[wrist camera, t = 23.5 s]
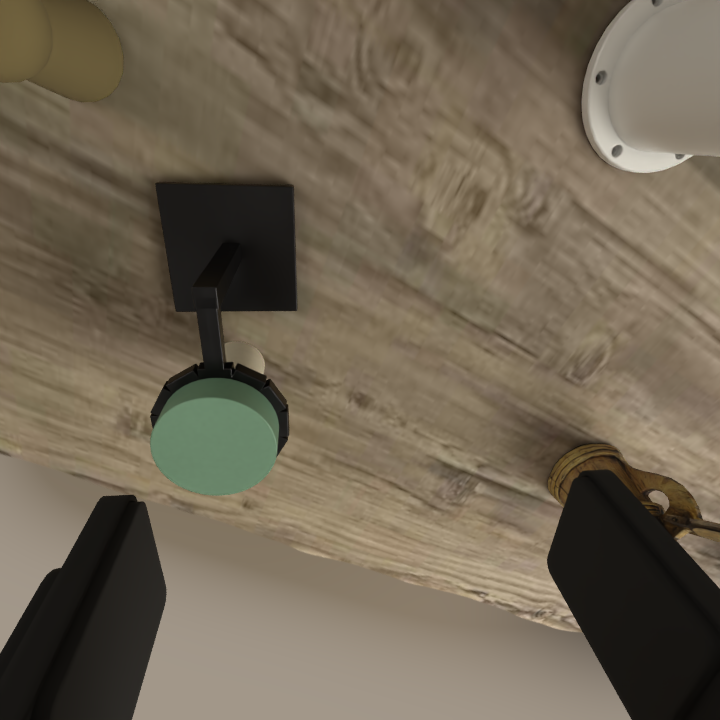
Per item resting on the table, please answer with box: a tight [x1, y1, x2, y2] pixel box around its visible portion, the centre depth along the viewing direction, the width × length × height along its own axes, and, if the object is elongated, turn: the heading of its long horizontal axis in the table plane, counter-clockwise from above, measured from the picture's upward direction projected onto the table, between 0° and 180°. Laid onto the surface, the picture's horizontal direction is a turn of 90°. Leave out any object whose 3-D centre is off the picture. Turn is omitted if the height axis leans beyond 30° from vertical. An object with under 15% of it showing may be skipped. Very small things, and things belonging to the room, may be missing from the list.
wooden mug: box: [548, 444, 720, 542], centre depth 44 cm, size 9×14×18 cm, turn 148°
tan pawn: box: [0, 0, 124, 102], centre depth 24 cm, size 6×6×11 cm
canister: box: [150, 341, 279, 495], centre depth 33 cm, size 8×8×11 cm
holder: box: [150, 182, 297, 457], centre depth 33 cm, size 10×18×12 cm, turn 178°
